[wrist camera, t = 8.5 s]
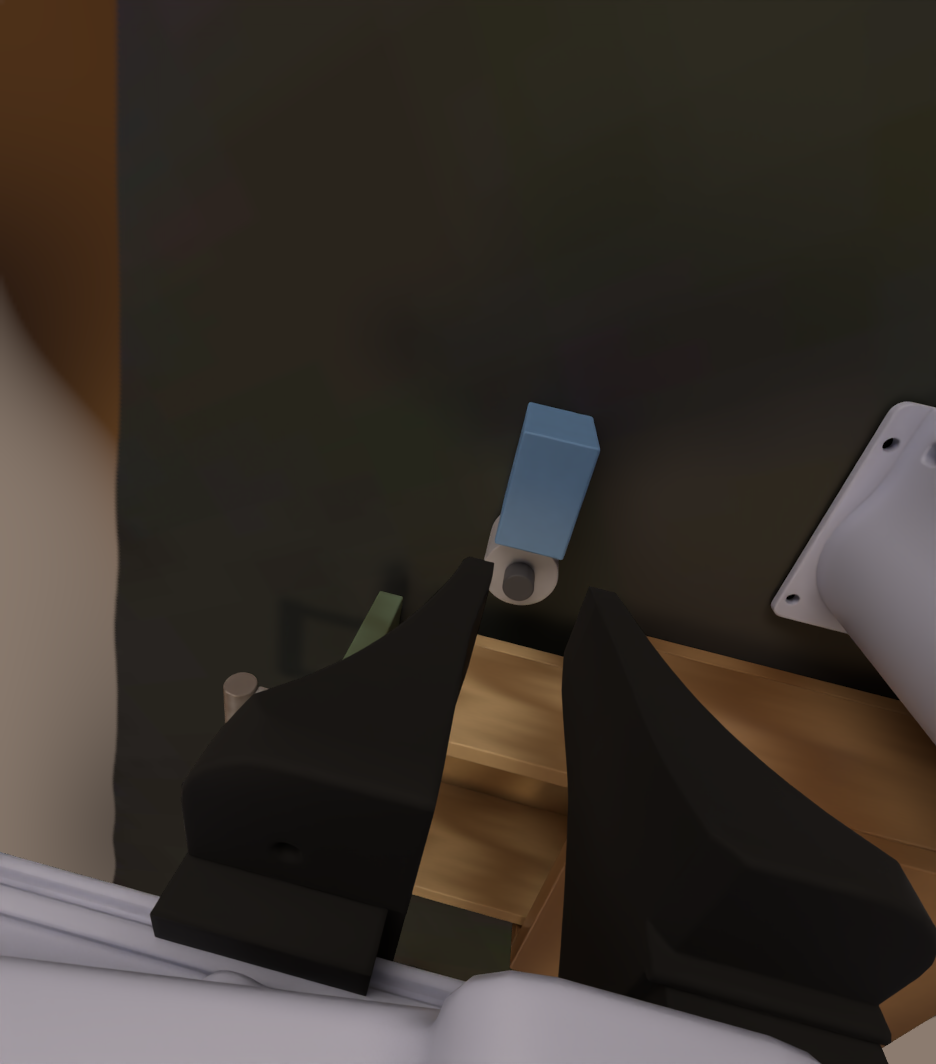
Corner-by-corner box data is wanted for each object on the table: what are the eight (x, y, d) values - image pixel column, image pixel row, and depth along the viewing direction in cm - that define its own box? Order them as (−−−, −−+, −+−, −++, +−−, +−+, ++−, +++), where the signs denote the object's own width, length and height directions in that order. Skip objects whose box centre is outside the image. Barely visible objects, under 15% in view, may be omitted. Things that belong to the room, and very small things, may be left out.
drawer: (272, 735, 31) (202, 850, 25) (274, 562, 25) (181, 660, 18) (596, 823, 30) (606, 965, 24) (681, 667, 24) (723, 805, 18)
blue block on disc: (524, 400, 20) (516, 430, 16) (598, 417, 20) (607, 452, 16) (484, 555, 24) (471, 609, 20) (547, 571, 24) (546, 628, 20)
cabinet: (521, 794, 31) (509, 969, 23) (590, 621, 24) (606, 786, 17) (778, 864, 30) (852, 1067, 23) (922, 705, 24) (1097, 918, 16)
